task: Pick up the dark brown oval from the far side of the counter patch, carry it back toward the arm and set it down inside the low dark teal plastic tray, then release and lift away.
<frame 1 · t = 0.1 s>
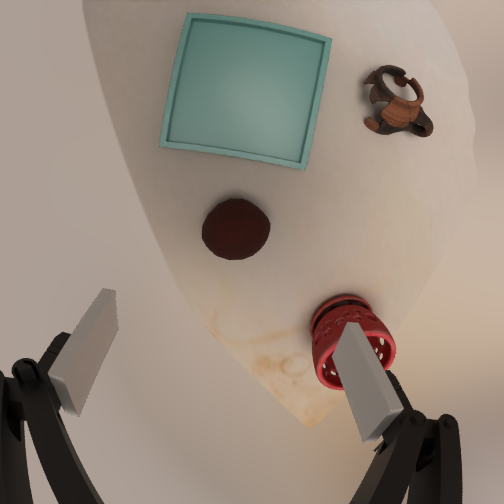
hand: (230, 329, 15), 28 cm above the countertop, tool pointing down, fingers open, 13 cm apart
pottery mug: (387, 107, 36), on the countertop
plant pot: (337, 319, 50), on the countertop
dark brown oval: (235, 220, 42), on the countertop
teal tray: (245, 86, 34), on the countertop
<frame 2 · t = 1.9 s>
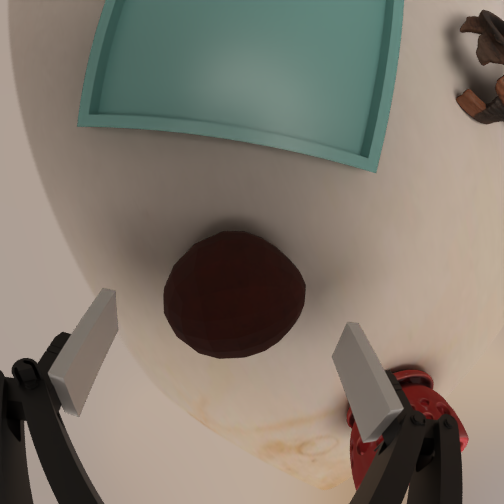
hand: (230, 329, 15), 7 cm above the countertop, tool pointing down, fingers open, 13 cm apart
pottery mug: (482, 80, 16), on the countertop
plant pot: (383, 395, 30), on the countertop
dark brown oval: (232, 266, 22), on the countertop
teal tray: (253, 7, 14), on the countertop
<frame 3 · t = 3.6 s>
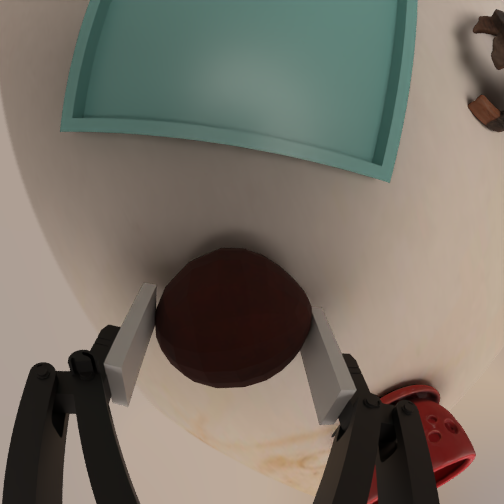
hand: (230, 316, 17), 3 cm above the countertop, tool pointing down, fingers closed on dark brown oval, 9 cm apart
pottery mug: (494, 84, 14), on the countertop
plant pot: (388, 409, 28), on the countertop
dark brown oval: (230, 284, 20), on the countertop, touching gripper
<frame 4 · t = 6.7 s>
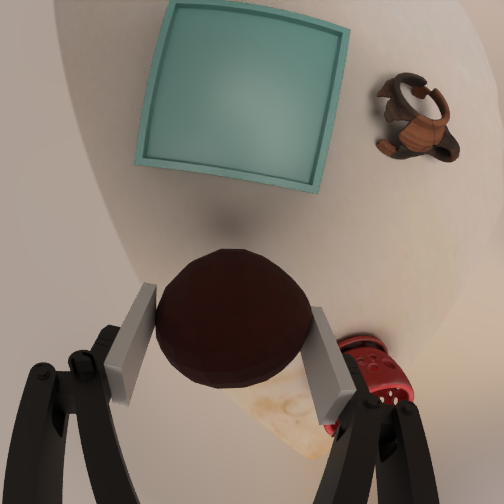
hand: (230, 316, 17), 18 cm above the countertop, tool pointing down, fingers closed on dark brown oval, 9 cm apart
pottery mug: (403, 124, 29), on the countertop
plant pot: (347, 359, 43), on the countertop
dark brown oval: (230, 285, 20), point 14 cm above the countertop, touching gripper
teal tray: (243, 87, 27), on the countertop
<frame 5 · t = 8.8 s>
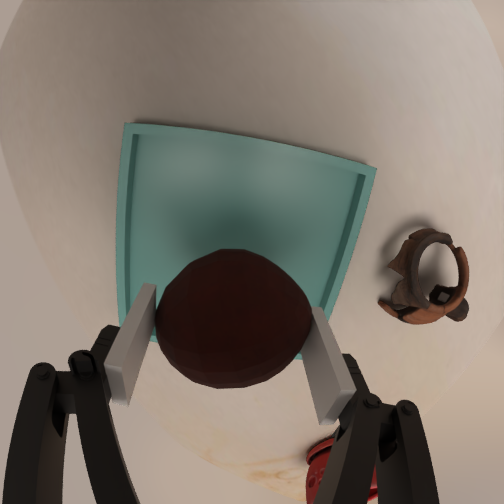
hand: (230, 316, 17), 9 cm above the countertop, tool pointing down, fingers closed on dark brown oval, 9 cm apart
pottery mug: (413, 272, 28), on the countertop
plant pot: (334, 446, 41), on the countertop
dark brown oval: (230, 285, 20), point 6 cm above the countertop, touching gripper
teal tray: (232, 252, 25), on the countertop
when the fingers open (5 cm above the countertop, at t = 10.1 s): dark brown oval drops 1 cm, resting on teal tray.
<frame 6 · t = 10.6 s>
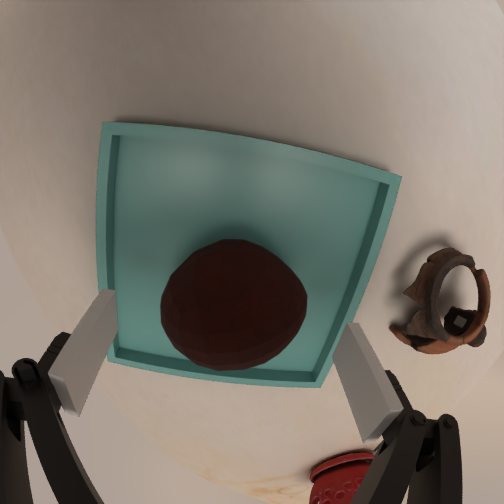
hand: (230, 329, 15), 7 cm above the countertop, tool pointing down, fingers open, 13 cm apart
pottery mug: (428, 294, 24), on the countertop
plant pot: (339, 463, 38), on the countertop
dark brown oval: (231, 274, 21), resting on teal tray
teal tray: (231, 273, 22), on the countertop
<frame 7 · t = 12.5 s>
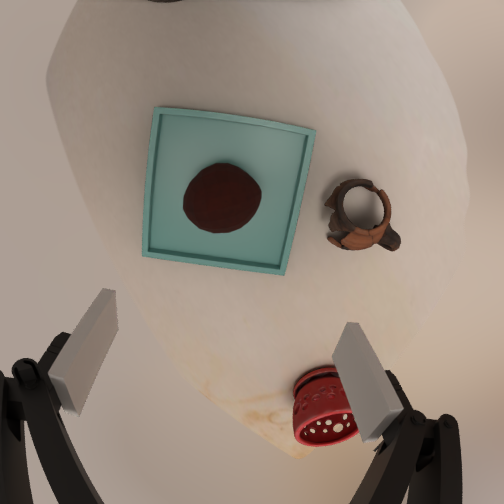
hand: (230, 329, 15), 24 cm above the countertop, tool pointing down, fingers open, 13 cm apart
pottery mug: (354, 215, 39), on the countertop
plant pot: (318, 383, 53), on the countertop
dark brown oval: (222, 191, 36), resting on teal tray
teal tray: (223, 191, 37), on the countertop
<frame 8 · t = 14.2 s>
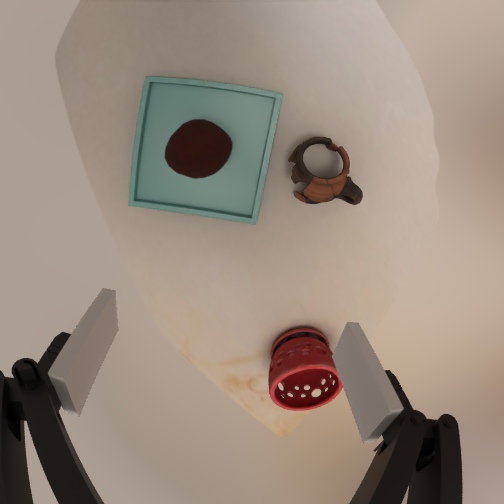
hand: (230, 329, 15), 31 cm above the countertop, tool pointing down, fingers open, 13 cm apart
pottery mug: (319, 174, 43), on the countertop
plant pot: (296, 346, 56), on the countertop
dark brown oval: (201, 147, 40), resting on teal tray
teal tray: (201, 147, 40), on the countertop
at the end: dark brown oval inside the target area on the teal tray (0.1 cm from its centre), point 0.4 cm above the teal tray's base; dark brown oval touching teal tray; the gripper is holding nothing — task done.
